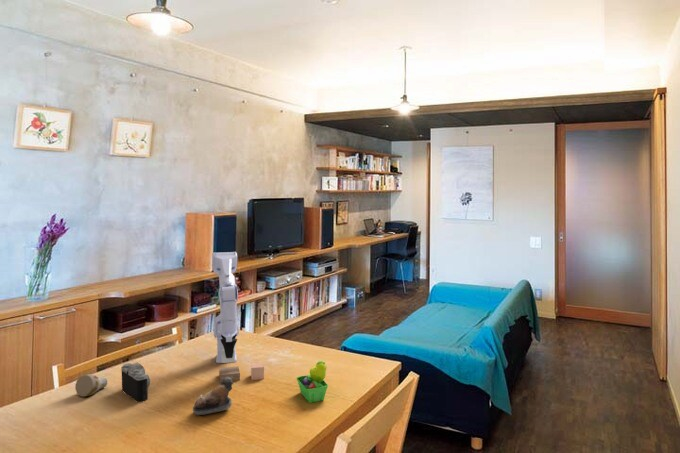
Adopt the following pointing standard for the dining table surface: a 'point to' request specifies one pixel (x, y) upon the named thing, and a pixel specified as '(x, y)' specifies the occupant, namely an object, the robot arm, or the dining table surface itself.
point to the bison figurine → (215, 399)
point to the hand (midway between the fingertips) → (229, 355)
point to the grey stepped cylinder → (89, 384)
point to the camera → (135, 381)
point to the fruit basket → (314, 383)
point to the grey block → (226, 360)
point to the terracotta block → (257, 371)
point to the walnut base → (229, 373)
